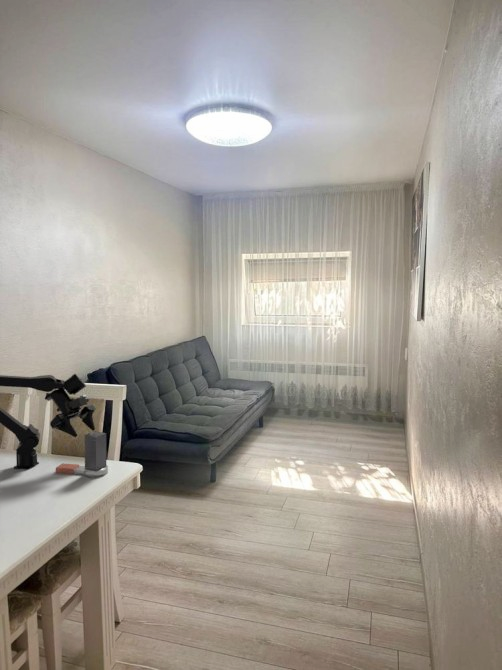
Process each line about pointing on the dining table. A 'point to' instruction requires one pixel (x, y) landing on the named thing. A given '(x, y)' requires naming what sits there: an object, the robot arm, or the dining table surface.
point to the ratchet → (80, 470)
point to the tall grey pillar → (95, 451)
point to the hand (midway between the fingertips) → (85, 433)
